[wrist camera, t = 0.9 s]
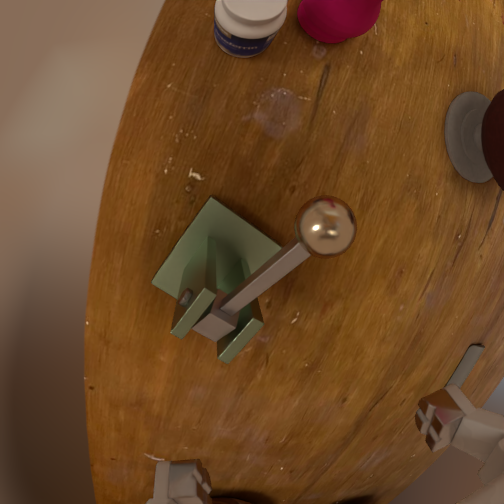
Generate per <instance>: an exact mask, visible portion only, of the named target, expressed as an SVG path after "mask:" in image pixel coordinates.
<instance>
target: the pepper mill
mask: <svg viewBox="0 0 504 504" xmlns="http://www.w3.org/2000/svg"><path fill="white" fill-rule="evenodd" d="M382 1H383V0H302V2H301V3H300V5H299V7H298V11H297V16H298V20H299V23H300V25H301V26H302V28H303V29H304V31H305V32H306V33H307V34H309V35H310V36H311V37H313V38H314V39H316V40H318V41H321V42H325V43H339V42H342V41H344V40H346V39H347V38H352V37H357V36H360V35H362V34H364V33H366V32H367V31H368V30H369V29H370V28H371V27H372V26H373V25H374V24H375V22H376V20H377V19H378V16H379V13H380V8H381V2H382Z"/></svg>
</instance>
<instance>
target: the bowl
mask: <svg viewBox="0 0 504 504" xmlns="http://www.w3.org/2000/svg"><path fill="white" fill-rule="evenodd" d="M211 499H212V504H252V503H249V502H246V501H243V500H239V499H235V498H226V497H218V498H211Z"/></svg>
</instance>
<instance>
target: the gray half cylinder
mask: <svg viewBox="0 0 504 504" xmlns="http://www.w3.org/2000/svg"><path fill="white" fill-rule="evenodd" d="M484 348H485V346H484V345H473V346H470V347H469V349H468V350H467V352H466V354H465V356H464V357H463V359H462V361H461V362H460V364H459V366H458V367H457V369H456V371H455V372H454V374H453V376H452V377H451V379H450V380H449V382H448V384H447V385H446V386H448V385H450V384H455V385H457V387H458V388H459V389H460V387H461V386H462V384H463V383H464V381H465V380H466V378H467V377H468V375H469V373H470V372H471V370H472V369H473V367H474V365H475V364H476V362H477V360H478V358H479V357H480V355H481V353H482V352H483V350H484Z"/></svg>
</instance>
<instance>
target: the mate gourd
mask: <svg viewBox="0 0 504 504" xmlns="http://www.w3.org/2000/svg"><path fill="white" fill-rule="evenodd" d="M445 143H446V147H447V152H448V155H449V157H450V160H451V162H452V164H453V166H454V168H455V169H456V170H457V172H458V173H459V174H460V175H461V176H462V177H463V178H465V179H467V180H468V181H471V182H476V183H483V182H486V181H488V180H489V179H491V178H492V177H494V178H495V180H496V182H497V183H498V185H499V186H500V187H501V189H502V190H503V191H504V89H503V90H502V91H500V92H498V93H497V94H496V96H495V97H494V98H493V100H492V101H490V100H489V99H488V98H486V97H485V96H484V95H482V94H480V93H478V92H464V93H462V94H460V95H458V96H457V97H456V98H455V99H454V100H453V101H452V103H451V105H450V106H449V109H448V112H447V115H446V120H445Z"/></svg>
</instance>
